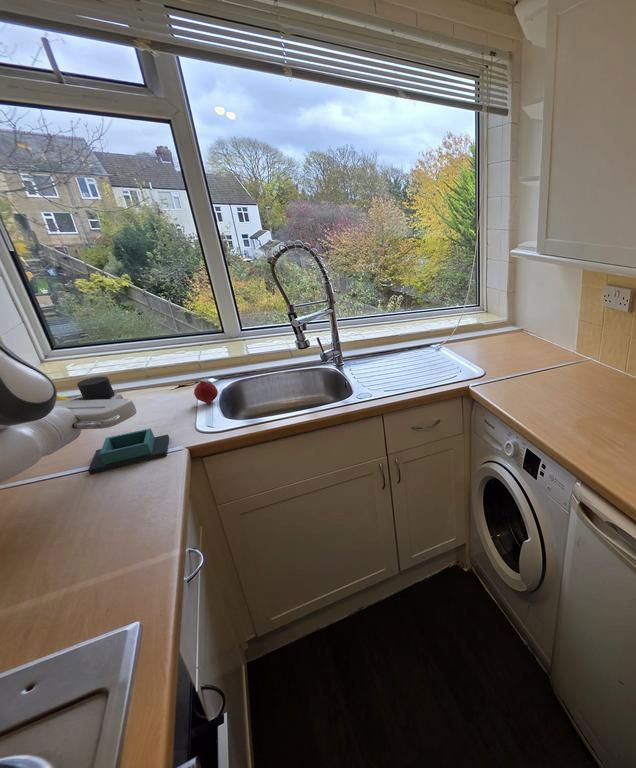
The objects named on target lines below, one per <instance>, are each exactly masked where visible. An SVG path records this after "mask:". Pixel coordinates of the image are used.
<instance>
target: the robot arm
mask: <svg viewBox="0 0 636 768" xmlns="http://www.w3.org/2000/svg"><path fill="white" fill-rule="evenodd" d="M57 396H58V392H57V388H56V385H55V384H54V382H53V380H52V379H51V378H50V377H49V376H48V375H47V374H46V373H44V372H43V371H42V370H40V369H39V368H37V367H35V366H33V365H32V364H30V363H28V362H27V361H26V360H24V359H22V358H21V357H20V356H18V355H17V354H16V353H14V352H13V351H12V350H11V349H10V348H8V347H7V346H6V345H5V344H4V343H3V342H1V341H0V484H2V483H4V482H7V481H9V480H11V479H12V478H14V477H16V476H18V475H20V474H21V473H23V472H25V471H26V470H29V469H30V468H32V467H33V466H35V465H36V464H38V462H39V461H41V459H42V458H44V457H48V456H50V455H52V454H55V453H56V452H58V451H60V450H61V449H62V448H64V447H65V446H67V445H69V444H71V443H72V442H74V441H75V440H77V439H78V438H79V437H80V435H81V433H82V430H100V429H101V430H103V429H108V428H112V427H115V426H117V425H120V424H121V423H123V422H125V421H126V420H128V419H130V418H132V417H134V416H135V415H136V414H137V408H136V405H135V403H134V401H133V399H131V398H124V397H123V395H122V393H114V394H113V395H111V396H109V397H108V398H109V399H103V400H84V399H83V397H82V394H81V395H79V396H77V397H72V398H69V400H65V401H56V399H57Z"/></svg>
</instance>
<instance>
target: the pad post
mask: <svg viewBox="0 0 636 768" xmlns="http://www.w3.org/2000/svg"><path fill="white" fill-rule="evenodd" d="M76 386H77V387H78V390H79V392H80V394H81V395H82V397H83V399H84V400H103V399H109V398H108V397H109V396H111V395H113V394H115V391H114V389H113V387H112V384H111V381H110V379H109V377H107V376H95V377H89V378H85V379H82V380H80V381H78V382H77V383H76Z"/></svg>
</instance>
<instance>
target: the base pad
mask: <svg viewBox="0 0 636 768" xmlns="http://www.w3.org/2000/svg"><path fill="white" fill-rule="evenodd" d="M169 443H170V436H169V434H164V435H163V434H162V435H159V436H158V435H157V436H154V433H153V430H152V428H146V429H141V430H136V431H130V432H126V433H123V434H122V433H121V434H117V435H113V436H108V437H106V438H105V439H104V442H103V445H102V447H101V448H99V449H96V450H95V453H94V455H93V457H92V460H91V462H90V464H89V467H88V469H87V472H88V473H89V475H94V474H97V473H102V472H105V471H109V470H114V469H118V468H123V467H126V466H131V465H134V464H138V463H142V462H143V463H144V462H147V461H152V460H155V459H159V458H164V457H167V456H168V452H169Z"/></svg>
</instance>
